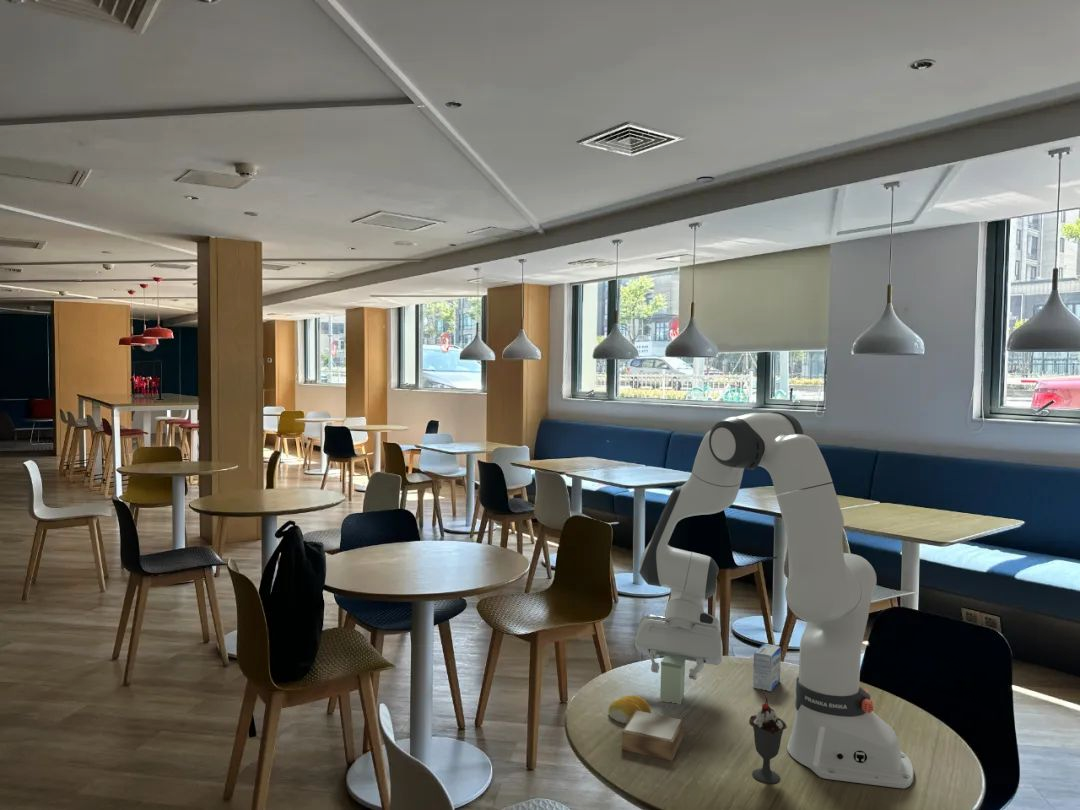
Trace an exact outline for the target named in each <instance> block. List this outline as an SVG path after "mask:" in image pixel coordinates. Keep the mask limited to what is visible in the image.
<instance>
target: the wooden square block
mask: <svg viewBox="0 0 1080 810" xmlns="http://www.w3.org/2000/svg"><path fill="white" fill-rule="evenodd" d="M621 734H622V735H621V736H622V737H621V750H623V751H627V752H632V753H635V752H636V754H640V755H645V756H650V757H654V758H659V759H663V760H666V759H667V761H670V760H672V761H673V760H674V758H675V757H676V754H675V753H677V752H678V750H679V747H680V745H681V743H682V742H683V741H682V740H683V739H684V719H680V718H676V717H675V718H674V717H671V716H666V715H660V714H656V713H655V714H654V713H652V712H651V713H647V712H642V711H637V710H636V711H635V713H634V714H633V716H632V717H631V719H630V720H629V722H628V723H627V724H625V726H624V728H623V730H622V733H621ZM677 749H678V750H677ZM676 751H677V752H676Z"/></svg>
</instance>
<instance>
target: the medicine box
mask: <svg viewBox="0 0 1080 810" xmlns="http://www.w3.org/2000/svg"><path fill="white" fill-rule="evenodd" d="M781 653H782V647H781V646H777V645H774V644H769V643H763V644H762V645H761V646H760V647H759V648H758V649H757V650H755V652H753V669H752V670H753V673H752V675H753V676H752V680H753V681H752V687H753V689H757V690H761V689H762V691H765V690H767V691H766V692H769V691H771V692H772V691H773V690H774V689H775V687H776V686H777V685H778V684H779V682H780V681H781V663H782V662H781V655H782V654H781Z"/></svg>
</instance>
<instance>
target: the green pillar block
mask: <svg viewBox="0 0 1080 810" xmlns="http://www.w3.org/2000/svg"><path fill="white" fill-rule="evenodd" d="M685 676H686V660H685V658H681V657H675V656H670V655H665V656H663V658H662V659H661V662H660V690H659V692H660V693H659V696H660V697H659V701H660V700H661V701H660V702H663V701H666V702H665V703H668V702H672V703H671V704H673V703H677V704H676V705H678V704H680V703H682V702H683V700H682V699H684V698H685V678H686V677H685ZM681 701H682V702H681ZM680 705H681V704H680Z"/></svg>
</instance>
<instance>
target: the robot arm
mask: <svg viewBox="0 0 1080 810" xmlns="http://www.w3.org/2000/svg"><path fill="white" fill-rule="evenodd" d="M757 467H761V468H763V469H765V470H766V472H767V473H769V476H770V478H771V481H772V485H773V489H774V493H775V495H776V499H777V503H778V507H779V510H780V511H779V512H780V514H781V517H782V521H783V525H784V528H785V529H784V530H785V535H786V543H787V555H788V557H787V558H788V559H787V561H788V579H787V581H786V586H785V589H784V590H785V592H784V593H785V601H786V603H787V605H788V608H789V609H790V611H791V612H792V613H793V614H794V615H795V617H797V618H798V619H800V620H802V621H803V622H806V624H805V628H804V631H803V633H802V635H801V638H800V640H799V658H798V659H799V664H798V677H796V682H795V685H794V686H795V688H794V692H795V693H794V708H795V715H794V721H793V726H792V730H791V734H790V737H789V739H788V743H787V745H786V749H787V752H788V754H789V755H790V756H791V757H792V758H793V759H794V760H795V761H797V762H798V763H800V764H801V765H803V766H806V767H807V768H808V769H810V770H811V771H812V772H814V774H815V775H817V776H818V777H819V778H822V779H826V780H833V781H841V782H842V781H843V782H849V783H859V784H863V785H870V786H871V785H873V786H880V787H887V788H895V789H907V788H908V787H910V786H911V785H912V784H913V782H914V778H915V777H914V776H915V775H914V767H913V764H912V761H911V759H910V758H909V757H908V755H907V754H906V753H904V752H903V751H902V750H901V745H900V742H899V739H898V737H897V734H896V732H895V730H894V728H892V727H891V725H889V724H888V723H887V722H885V721H884V720H883V719H882V718H881V717H880V716H878V715H877V714H876V713H875V712H874V702H873V701H872V700H871V695H870V694H869V691H868V689H867V688H866V687H865V690H864V689H863V688H862V687H861V686H860V677H861V676H860V675H861V658H862V657H861V656H862V647H863V641H864V636H865V633H866V628H867V624H868V619H869V614H870V609H871V603H872V598H873V595H874V593H875V592H874V591H875V590H876V587H877V573H876V571H875V569H874V567H873V566H872V564H871V563H870V562H869V561H868V560H867V559H866V558H864V557H863V556H861V555H858V554H854V553H848V552H844V543H843V542H844V541H843V540H844V539H843V536H844V535H843V534H844V533H843V532H844V527H845V519H844V516H843V513H842V509H841V506H840V503H839V499H838V496H837V493H836V490H835V487H834V483H833V478H832V477H831V474H830V471H829V468H828V466H827V463H826V460H825V458H824V455H823V454H822V452H821V449H820V447H819V446H818V444H817V443H816V441H815V439H813V438H812V437H811V436H808V435H807V434H804V429H803V427H802V424H801V423H800V422H799V420H798V419H797V418H795V417H794V416H793V415H791V414H788V413H786V412H780V411H772V412H763V413H762V412H751V413H745V414H741V415H736V416H729V417H726V418H724V419H721V420H720V421H718V422H716V423H715V424H714V425H713V426H712V428H711V429H710V430H708V431H707V432H706V434H705V435H704V436H703V438H702V440H701V442H700V445H699V447H698V450H697V454H696V455H695V458H694V462H693V466H692V470H691V474H690V476H689V477H688V479H687V480H686V482H685V483H683V484H682V485H679V486H676V487H675V488H674V489H673V490H672V492H671V493H670V495H669V496H668V499H667V501H666V504H665V506H664V508H663V509H662V512H661V514H660V517H659V520H658V521H657V524H656V525H655V529H654V531H653V533H652V535H651V539H650V540H649V541H648V544H647V546H646V547H645V548H644V550H643V552H642V554H641V556H640V559H639V564H638V565H639V566H638V570H639V571H638V572H639V574H640V576H641V578H642V579H643V580H644V582H645V583H646V584H647V585H649V586H655V587H662V588H666V589H667V588H668V589H670V597H669V600H668V602H667V605H666V609H665V616H660V615H653V614H646V615H645V616H644V615H643V616H642V617H640V619H639V622H638V630H637V634H636V636H635V638H634V639H635V640H634V645H635V647H636V650H637V651H638V652H639V653H644V654H648V655H649V658H650V660H651V668H650V670H651V673H655V674H658V673H659V672H660V671H659V670H660V668H661V665H660V664H659V662H656V659H657V656H660V657H665V655H670V656H675V657H681V658H685V661H689V662H696V666H695V667H694V668H689V673H688V678H689V679H690V680H694V681H695V680H697V677H698V674H699V673H700V672H701V670H702V669H703V668H704V664H707V665H713V666H719V665H720V664H722V662H723V650H724V649H723V640H722V639H723V638H722V635H721V632H722V631H721V624H720V621H719V619H718V618H717V617H716V616H714V615H711V614H709V613H707V612H705V609H704V608H705V607H704V603H705V601H706V600H708V599H710V598H711V597H712V596H714V595H715V593H716V590H717V578H718V574H719V570H720V568H719V566H718V564H717V562H716V561H715V559H713V558H712V557H711V556H709V555H706V554H701V553H697V552H694V551H688V550H685V549H681V548H676V547H673V546H670V544H669V541H670V539H671V537H672V534H673V533H674V530H675V528H676V525H677V524H678V522H680V521H681V520H683V519H685V518H689V517H694V516H701V515H702V516H703V515H704V516H705V515H713V514H714V515H715V514H717V513H721V512H722V511H725V510H727V509H728V508H730V507H731V506H732V505H733V504H734V503H735V501H736V499H737V496H738V494H739V490H740V487H741V484H742V480H743V476H744V471H745V469H746V470H752V471H753V470H756V468H757Z"/></svg>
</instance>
